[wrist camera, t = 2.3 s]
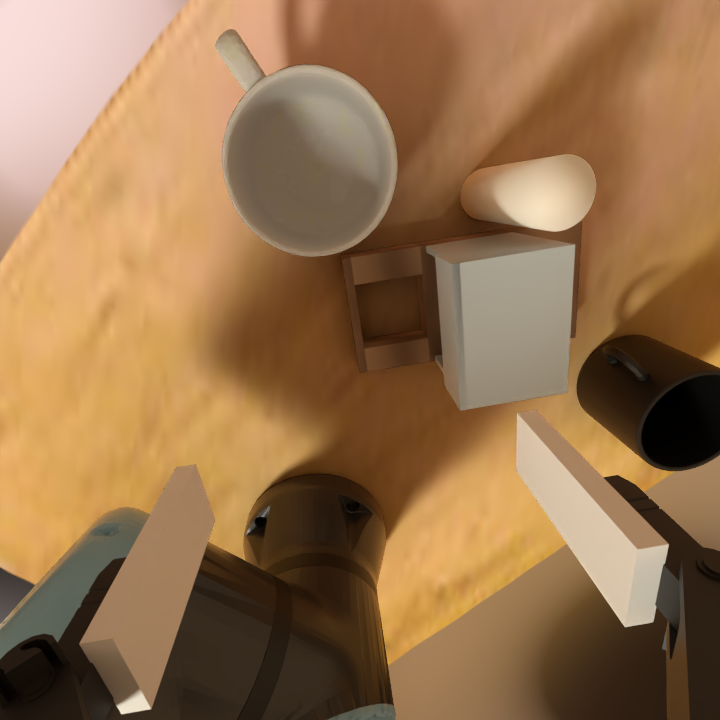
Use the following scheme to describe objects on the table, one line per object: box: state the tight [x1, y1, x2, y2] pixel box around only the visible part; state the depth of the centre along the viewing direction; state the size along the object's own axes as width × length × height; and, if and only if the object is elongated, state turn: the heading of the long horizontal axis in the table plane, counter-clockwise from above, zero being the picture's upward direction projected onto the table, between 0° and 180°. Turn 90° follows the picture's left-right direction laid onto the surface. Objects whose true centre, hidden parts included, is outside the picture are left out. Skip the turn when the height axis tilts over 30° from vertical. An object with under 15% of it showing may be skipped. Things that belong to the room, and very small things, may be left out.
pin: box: [460, 154, 596, 232], centre depth 28 cm, size 4×4×12 cm
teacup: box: [215, 29, 398, 257], centre depth 28 cm, size 14×11×8 cm
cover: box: [426, 232, 575, 411], centre depth 30 cm, size 8×10×9 cm
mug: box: [577, 335, 720, 471], centre depth 37 cm, size 9×12×9 cm
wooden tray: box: [341, 221, 582, 373], centre depth 34 cm, size 20×10×6 cm, turn 98°
